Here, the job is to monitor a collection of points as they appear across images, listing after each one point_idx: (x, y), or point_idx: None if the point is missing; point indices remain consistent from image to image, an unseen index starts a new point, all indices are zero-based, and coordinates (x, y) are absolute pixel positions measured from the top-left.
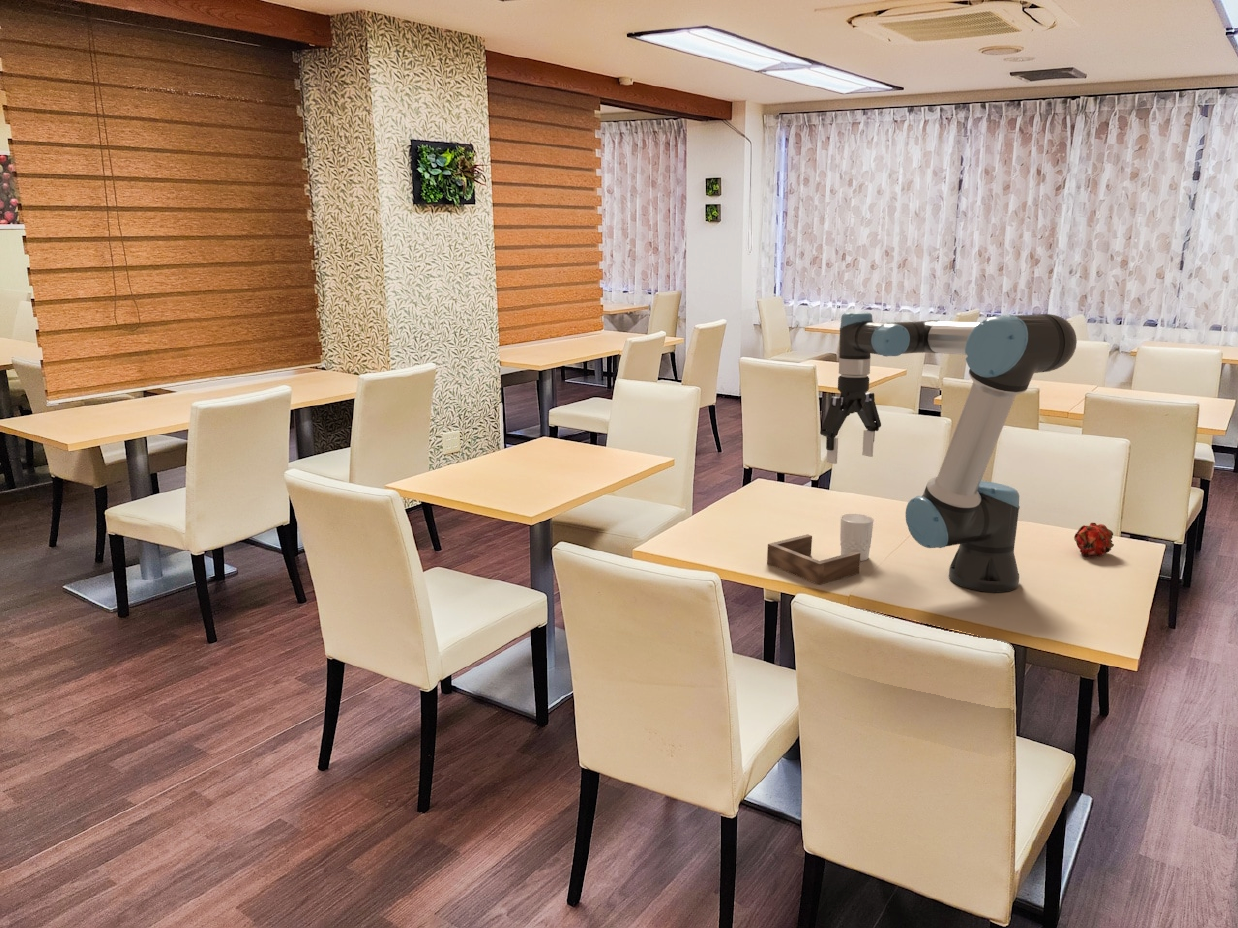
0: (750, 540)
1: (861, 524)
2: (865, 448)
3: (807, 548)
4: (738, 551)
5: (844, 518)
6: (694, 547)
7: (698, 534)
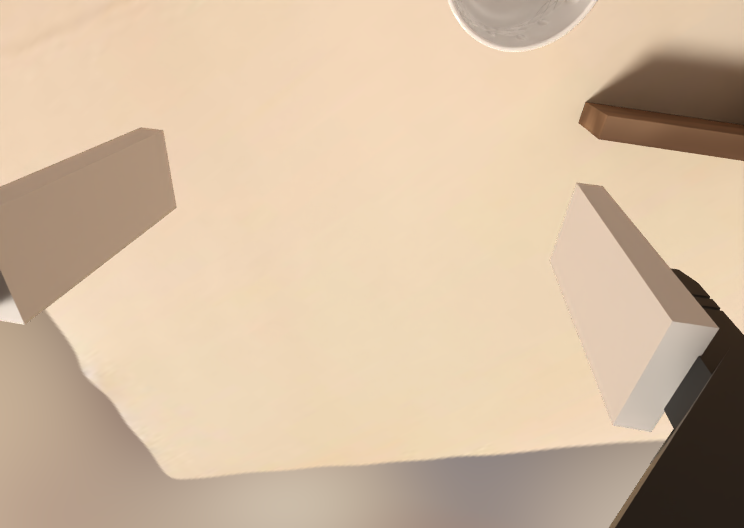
0: None
1: None
2: (139, 206)
3: (613, 109)
4: (690, 271)
5: (512, 44)
6: None
7: None
